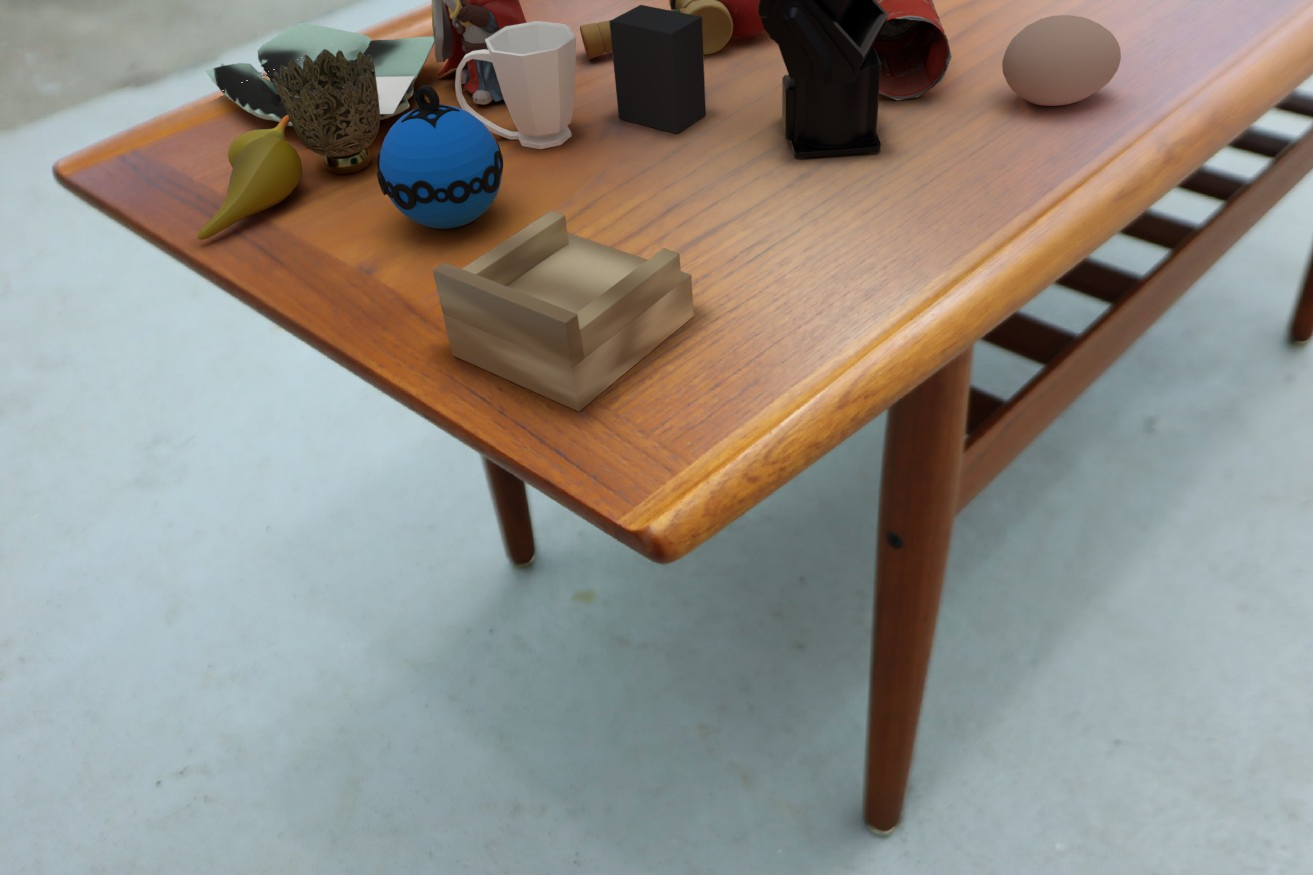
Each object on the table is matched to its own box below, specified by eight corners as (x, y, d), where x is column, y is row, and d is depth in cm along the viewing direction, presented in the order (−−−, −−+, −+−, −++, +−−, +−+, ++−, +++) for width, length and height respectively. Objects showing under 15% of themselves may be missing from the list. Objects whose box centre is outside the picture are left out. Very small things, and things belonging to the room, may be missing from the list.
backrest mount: (570, 271, 72) (559, 188, 68) (694, 316, 67) (689, 230, 63) (452, 355, 66) (432, 270, 62) (578, 412, 61) (565, 322, 57)
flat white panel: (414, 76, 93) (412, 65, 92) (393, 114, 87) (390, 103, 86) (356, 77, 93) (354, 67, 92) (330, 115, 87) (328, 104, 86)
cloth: (422, 114, 88) (428, 141, 89) (440, 9, 104) (445, 34, 106) (168, 138, 88) (179, 165, 89) (226, 29, 104) (234, 53, 105)
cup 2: (581, 156, 85) (569, 53, 79) (456, 159, 86) (435, 58, 81) (593, 116, 90) (582, 18, 85) (475, 120, 91) (456, 23, 86)
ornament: (535, 204, 79) (513, 69, 73) (467, 262, 74) (437, 122, 67) (439, 185, 83) (410, 54, 76) (367, 239, 77) (330, 104, 70)
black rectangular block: (648, 101, 92) (640, 4, 86) (706, 115, 89) (702, 16, 84) (618, 119, 89) (608, 20, 84) (677, 134, 86) (671, 33, 81)
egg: (1019, 116, 82) (1132, 109, 83) (1030, 22, 79) (1148, 16, 80) (982, 101, 88) (1089, 95, 89) (992, 13, 85) (1102, 8, 86)
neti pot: (319, 81, 83) (257, 96, 86) (219, 208, 74) (154, 219, 77) (351, 129, 86) (290, 141, 89) (258, 256, 77) (194, 265, 80)
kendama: (598, 91, 97) (792, 35, 97) (579, 18, 94) (780, -40, 94) (589, 74, 104) (771, 21, 104) (571, 5, 100) (759, -49, 101)
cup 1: (415, 152, 87) (393, 53, 82) (360, 195, 82) (332, 92, 77) (340, 140, 90) (314, 44, 85) (282, 180, 85) (251, 81, 80)
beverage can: (928, 43, 97) (936, -35, 93) (947, 99, 88) (956, 16, 84) (847, 46, 98) (850, -31, 93) (856, 103, 89) (861, 20, 84)
